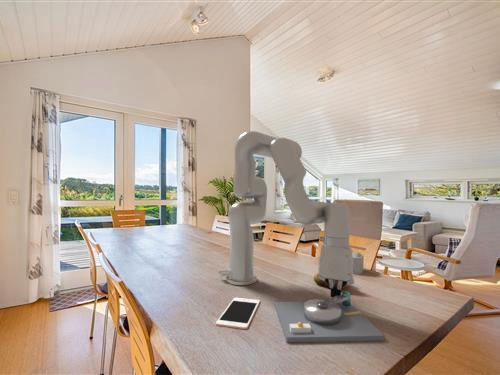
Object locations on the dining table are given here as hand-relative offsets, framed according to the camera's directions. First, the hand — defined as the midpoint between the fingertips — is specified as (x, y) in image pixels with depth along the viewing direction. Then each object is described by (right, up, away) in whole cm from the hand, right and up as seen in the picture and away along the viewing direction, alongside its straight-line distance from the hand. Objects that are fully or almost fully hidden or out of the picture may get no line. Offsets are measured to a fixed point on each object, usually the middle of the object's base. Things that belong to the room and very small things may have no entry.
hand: (335, 300), depth 82 cm
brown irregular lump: (+4, -3, +19) cm, 20 cm away
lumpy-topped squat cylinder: (+19, -3, +40) cm, 44 cm away
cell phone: (-30, -2, -4) cm, 31 cm away
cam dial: (-4, -1, -7) cm, 8 cm away
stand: (-7, -2, -9) cm, 11 cm away
